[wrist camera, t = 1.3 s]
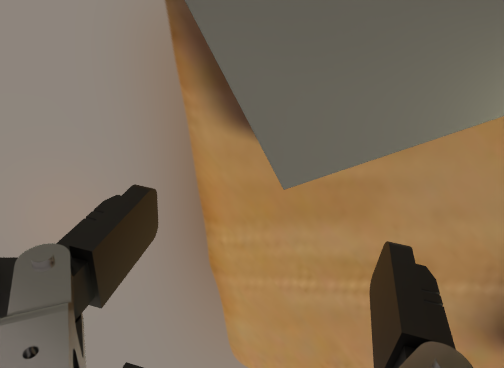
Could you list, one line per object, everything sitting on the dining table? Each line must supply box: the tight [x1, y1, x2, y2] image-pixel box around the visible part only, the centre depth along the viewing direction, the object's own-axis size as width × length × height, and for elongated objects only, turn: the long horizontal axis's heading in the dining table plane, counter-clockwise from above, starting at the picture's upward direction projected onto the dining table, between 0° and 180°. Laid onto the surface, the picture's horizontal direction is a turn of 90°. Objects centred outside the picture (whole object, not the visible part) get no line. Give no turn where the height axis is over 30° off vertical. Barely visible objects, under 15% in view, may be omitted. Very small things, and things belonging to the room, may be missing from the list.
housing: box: [185, 0, 504, 190], centre depth 26 cm, size 18×17×8 cm
